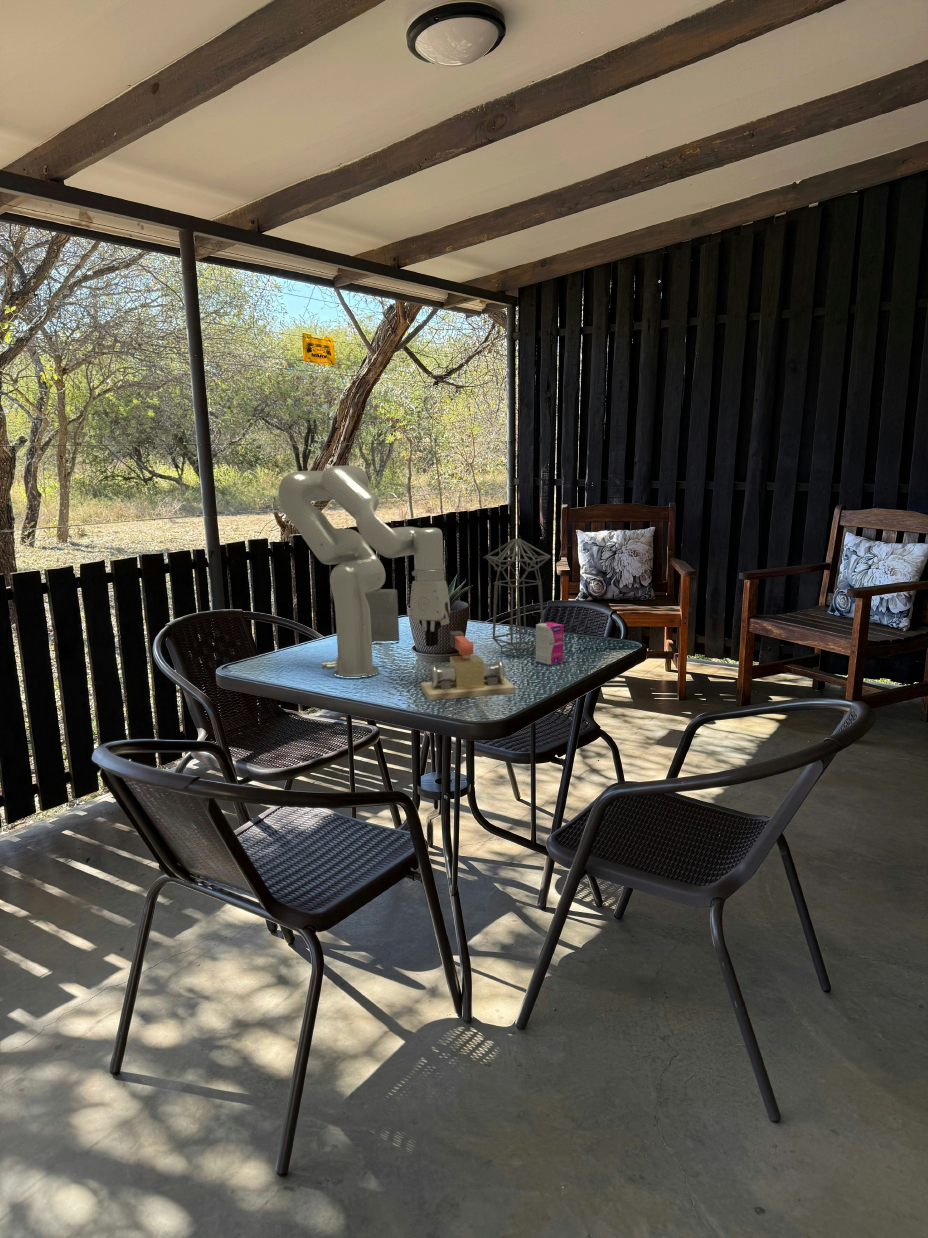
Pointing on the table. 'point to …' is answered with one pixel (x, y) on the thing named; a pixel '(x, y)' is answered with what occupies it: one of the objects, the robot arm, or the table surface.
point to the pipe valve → (467, 673)
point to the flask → (383, 614)
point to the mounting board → (466, 690)
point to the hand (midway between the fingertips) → (432, 645)
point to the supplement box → (549, 643)
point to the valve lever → (461, 644)
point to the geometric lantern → (491, 558)
